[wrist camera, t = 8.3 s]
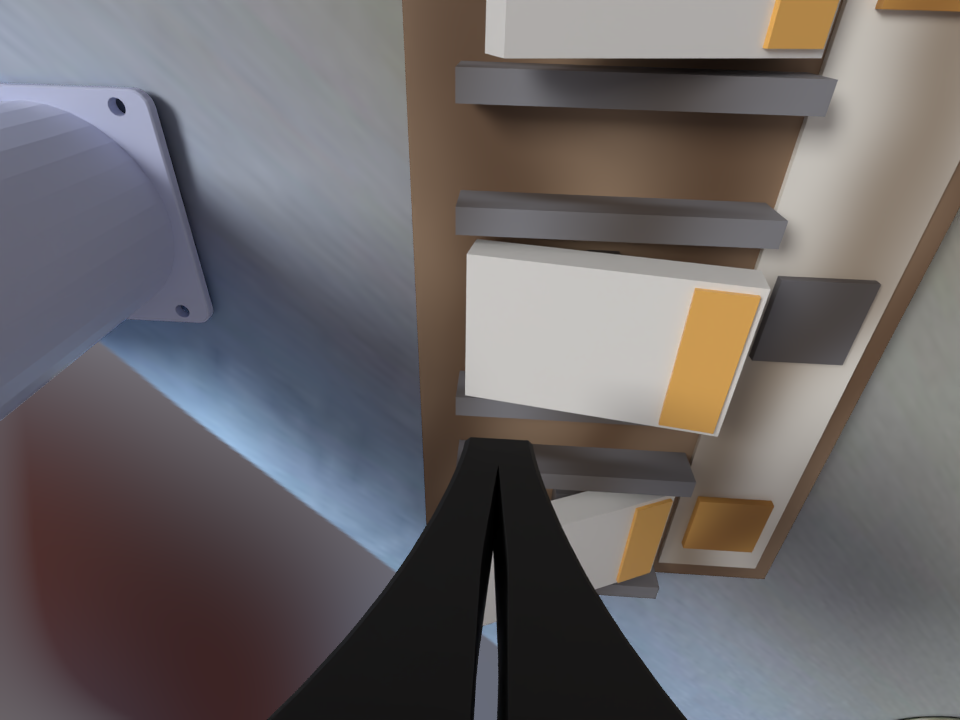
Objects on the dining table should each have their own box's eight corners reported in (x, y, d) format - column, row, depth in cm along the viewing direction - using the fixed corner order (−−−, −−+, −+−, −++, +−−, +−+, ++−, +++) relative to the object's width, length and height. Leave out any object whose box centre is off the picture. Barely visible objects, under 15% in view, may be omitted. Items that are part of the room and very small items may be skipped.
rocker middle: (473, 375, 19) (463, 398, 18) (476, 238, 16) (465, 256, 15) (712, 412, 17) (718, 440, 16) (761, 270, 15) (771, 291, 14)
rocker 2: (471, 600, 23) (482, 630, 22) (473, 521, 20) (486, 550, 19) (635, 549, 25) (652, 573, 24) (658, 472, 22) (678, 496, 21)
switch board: (432, 531, 27) (423, 587, 25) (400, -309, 12) (366, -398, 9) (752, 552, 27) (777, 610, 24) (1165, -302, 11) (1359, -393, 9)
